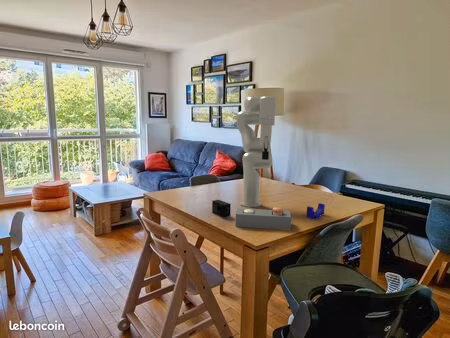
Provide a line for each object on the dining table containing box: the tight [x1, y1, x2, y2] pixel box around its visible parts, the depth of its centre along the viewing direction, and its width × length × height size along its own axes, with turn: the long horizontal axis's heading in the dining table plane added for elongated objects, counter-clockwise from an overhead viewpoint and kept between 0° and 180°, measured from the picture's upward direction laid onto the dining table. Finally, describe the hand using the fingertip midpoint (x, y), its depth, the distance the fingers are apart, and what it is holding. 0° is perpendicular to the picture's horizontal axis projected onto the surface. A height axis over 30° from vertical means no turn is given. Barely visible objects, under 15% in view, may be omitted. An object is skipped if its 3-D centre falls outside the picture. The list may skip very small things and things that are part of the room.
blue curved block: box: [306, 202, 326, 220], centre depth 163 cm, size 12×4×6 cm, turn 130°
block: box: [234, 207, 292, 231], centre depth 148 cm, size 10×26×6 cm, turn 83°
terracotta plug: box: [272, 206, 284, 215], centre depth 147 cm, size 5×5×6 cm
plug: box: [244, 208, 254, 214], centre depth 149 cm, size 5×5×6 cm
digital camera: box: [211, 199, 231, 219], centre depth 162 cm, size 10×5×7 cm, turn 40°
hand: (265, 159), depth 151 cm, fingers closed
